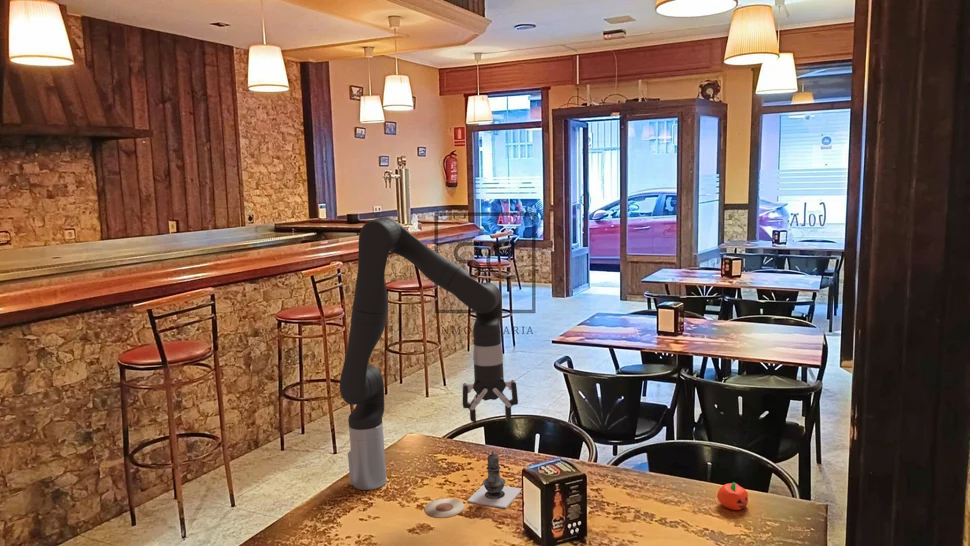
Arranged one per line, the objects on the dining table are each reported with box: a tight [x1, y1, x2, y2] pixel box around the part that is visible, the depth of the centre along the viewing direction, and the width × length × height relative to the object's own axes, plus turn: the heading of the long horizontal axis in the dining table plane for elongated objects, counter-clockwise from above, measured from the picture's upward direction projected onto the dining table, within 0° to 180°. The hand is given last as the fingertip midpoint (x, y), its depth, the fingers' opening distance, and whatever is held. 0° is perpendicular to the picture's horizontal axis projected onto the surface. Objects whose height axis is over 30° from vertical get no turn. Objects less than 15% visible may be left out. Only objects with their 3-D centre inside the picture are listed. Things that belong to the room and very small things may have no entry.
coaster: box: [424, 497, 465, 519], centre depth 172 cm, size 10×10×1 cm
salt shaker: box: [482, 450, 506, 499], centre depth 176 cm, size 6×6×12 cm
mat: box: [466, 484, 522, 509], centre depth 177 cm, size 11×11×1 cm
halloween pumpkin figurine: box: [716, 481, 749, 511], centre depth 165 cm, size 7×8×6 cm
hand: (491, 421), depth 175 cm, fingers open, 8 cm apart
